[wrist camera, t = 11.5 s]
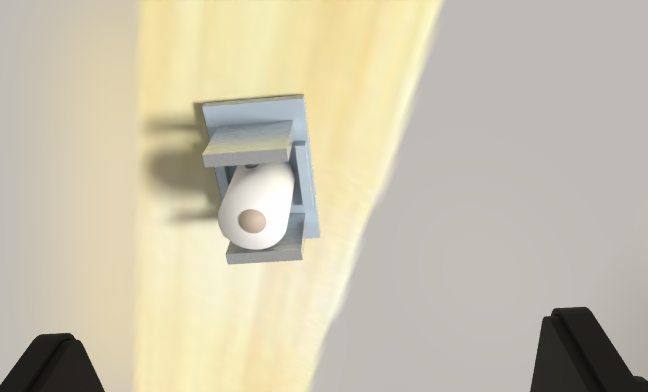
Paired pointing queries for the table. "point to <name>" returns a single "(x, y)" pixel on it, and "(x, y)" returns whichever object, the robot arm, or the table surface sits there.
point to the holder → (300, 150)
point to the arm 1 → (250, 144)
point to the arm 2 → (281, 251)
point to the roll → (257, 205)
